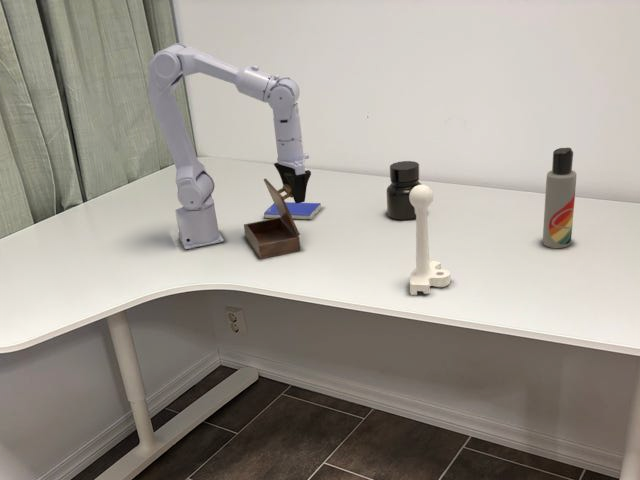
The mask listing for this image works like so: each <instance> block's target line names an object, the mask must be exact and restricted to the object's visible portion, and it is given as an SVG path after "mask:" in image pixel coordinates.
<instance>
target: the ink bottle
mask: <svg viewBox="0 0 640 480" xmlns="http://www.w3.org/2000/svg"><path fill="white" fill-rule="evenodd" d="M389 179H390V184H389V185H388V186H387V188H386V210H387V211H386V212H387V215H388V217H390V218H392V219H393V220H403V221H405V220H414V219H416V209H415V208H414V206H413V205H412V204H411V202H410V200H409V195H410V192H411V190H412V189H413V188H414V187H415V186H417V185H423V184H422V183H421V182H420V181H419V180H420V164H419V162H417V161H414V160H413V161H412V160H403V161H397V162H393V163H392V164H390V166H389Z"/></svg>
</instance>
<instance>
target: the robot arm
mask: <svg viewBox="0 0 640 480" xmlns="http://www.w3.org/2000/svg"><path fill="white" fill-rule="evenodd" d="M147 68H148V71H149V72H148V73H149V74H148V82H147V95H148V98H149V101H150V103H151V106H152V109H153V111H154V114H155V116H156V119H157V121H158V125H159V127H160V129H161V132H162V135H163V138H164V140H165V143H166V146H167V148H168V151H169V153H170V156H171V158H172V160H173V164H174V166H175V169H176V172H175V185H176V187H177V200H178V202H179V204H181V206H182V207H179V208H176V209H175V210H174V211H175V212H174V213H175V217H176V223H177V228H178V237H179V240H180V242H181V244H182V247H183V248H184V250H190V249H196V248H200V247H205V246H210V245H215V244H219V243H223V242H225V239H224V238H223V236H222V235H221V233H220V231H219V224H218V219H217V212H216V207H215V201H214V198H213V196H212V194H213V193H214V190H215V181H214V179H213V177H212V175H210V174H209V173H208V171H207V169H206V167H205V165H204V164H203V163H202V162H201V161H200V160H199V159H198V157H197V154H196V151H195V148H194V145H193V142H192V140H191V138H190V135H189V132H188V129H187V126H186V124H185V122H184V118H183V116H182V113H181V110H180V107H179V105H178V102H177V100H176V97H175V90H176V89H177V86H178V84H179V82H180V80H181V79H182V78H183V77H187V76H190V75H195V74H199V73H200V74H203V75H206V76H209V77H211V78H215V79H218V80H221V81H224V82H227V83H229V84H233V85H235V88H236V89H237V91H238V93H239V94H243V95H245V96H247V97H250V98H252V99H255V100H258V101H260V102H263V103H266V104H267V103H268V105H269V107H270V108H271V110H272V115H273V116H272V117H273V120H272V121H273V127H274V136H275V144H276V151H277V152H276V153H277V159H276V160H277V161H276V162H274V163H273V166H274V168H275V169H276V170H277V172H278V175H279V177H280V179H281V182H282V183H281V184H282V186H283V185H285V184H288V185H289V186H290V187H291V190H292V194H293V198H292V199H293V202H294V203H306V195H307V187H308V183H309V180H310V178H311V176H312V172H311V171H310V169H308V170H306V168H305V167H306V166H305V161H306V160H307V159H310V154H308V153H304V146H303V137H302V135H303V134H302V128H301V127H302V126H301V117H300V111H299V109H300V108H299V103H298V102H297V101H298V100H299V98H300V94H301V93H300V92H301V91H300V87H299V84H298V83H297V82H296V81H295V80H293V79H291V78H290V77H288V76H284V77H281V76H280V75H279V74H277V73H275V74H274V75H273V74H271V73H268V72H265V71H264V70H263V71H262V70H260V67H259V65H256V64H253V65H251V66H250V65H246V66H244V67H242V68H239V67H237V66H235V65H232V64H230V63H228V62H225V61H224V60H221V59H219V58H217V57H215V56H212V55H210V54H208V53H206V52H203V51H202V50H199V49H198V48H195V47H194V46H189V45H188V46H187V45H185V44H184V43H181V42H175V43H172V44H170V45H169V46H168V47H166V48H164V49H163V50H159V51H157V52H156V53H155V54H154V55H153V57H152V59H151V60H150V62H149V64H148V65H147Z"/></svg>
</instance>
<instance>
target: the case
mask: <svg viewBox="0 0 640 480" xmlns="http://www.w3.org/2000/svg"><path fill="white" fill-rule="evenodd" d="M243 230H244V236H245V238H246V240H247V242H248V243H249V245H250V246H251V247H252V249H253V250H254V252H255V253H256V256H258V258H259V259H260V260H263V259H268V258H273V257H277V256H281V255H287V254H291V253H295V252H300V251H301V244H300V236H297V235H296V234H295V232H294V231H293V230H292V229H291V228H290V227H289V225H288V224H287V223H286V222H285V221H284V220H283V218H282V217H278V218H267V219H263V220H258V221H254V222H248V223H244V224H243Z"/></svg>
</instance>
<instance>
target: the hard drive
mask: <svg viewBox="0 0 640 480" xmlns="http://www.w3.org/2000/svg"><path fill="white" fill-rule="evenodd" d="M285 203H286V205H287V207H288V210H289V212H290V214H291V216H292V218H293V220H294V219H295V220H312V219H313V218H314V216H316V214H317V213H318V212H319V211H320V210H321V209H322V204H321V202H301V203H295V201H293V202H290V201H289V202H288V201H285ZM263 217H264V218H265V219H273V218H278V217H281V216H280V214H279V212H278V210H277V208H276V206H275V203H274V202H273V203H272V205H270V206H269V207H268V208H267V209H266V210H265V211H264V213H263Z"/></svg>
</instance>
